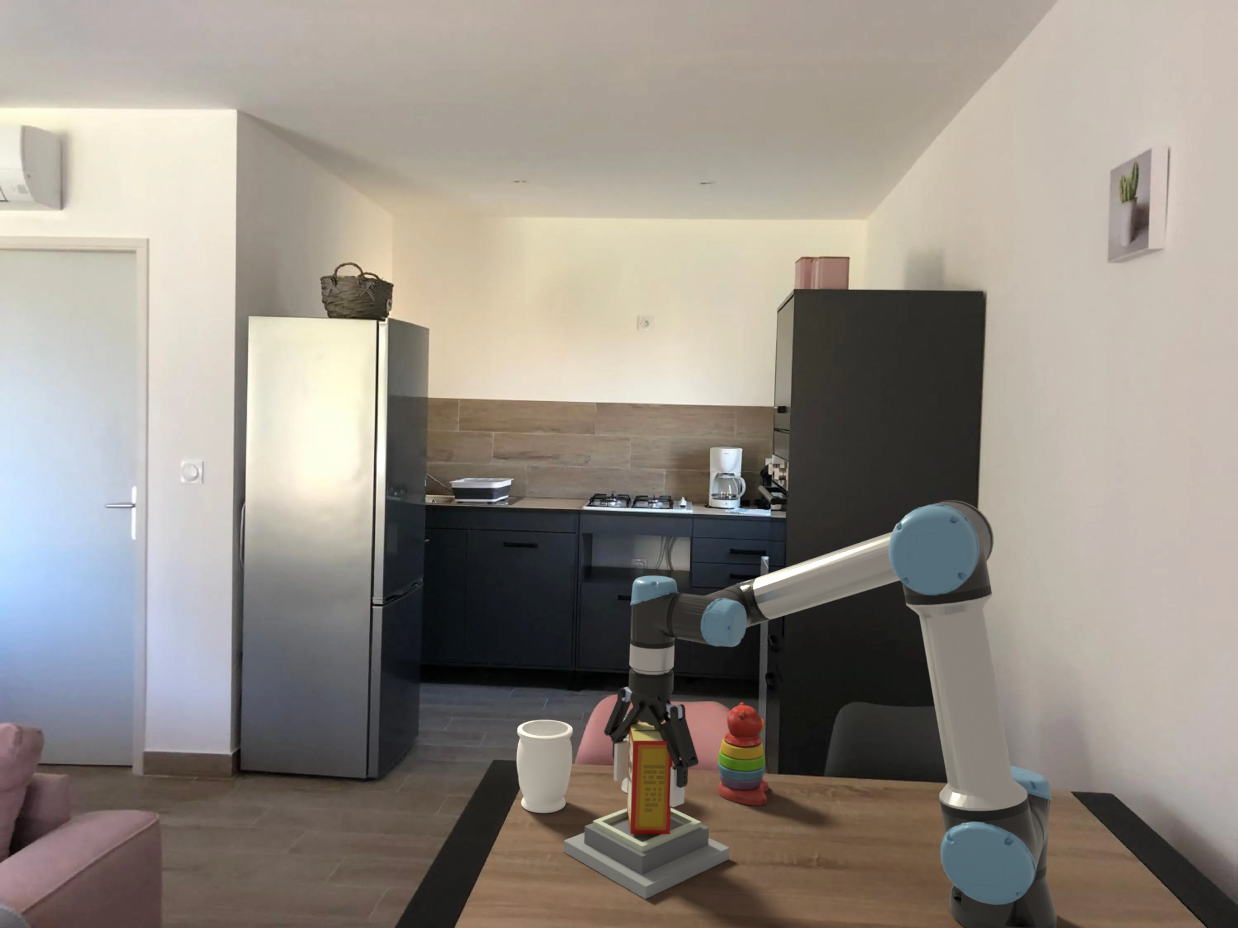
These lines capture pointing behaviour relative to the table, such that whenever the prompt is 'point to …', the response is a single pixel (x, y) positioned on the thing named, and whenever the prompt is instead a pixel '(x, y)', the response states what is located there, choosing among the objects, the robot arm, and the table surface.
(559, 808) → the jar
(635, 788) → the baking soda box
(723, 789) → the stacking bear
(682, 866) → the plinth
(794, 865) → the table surface
